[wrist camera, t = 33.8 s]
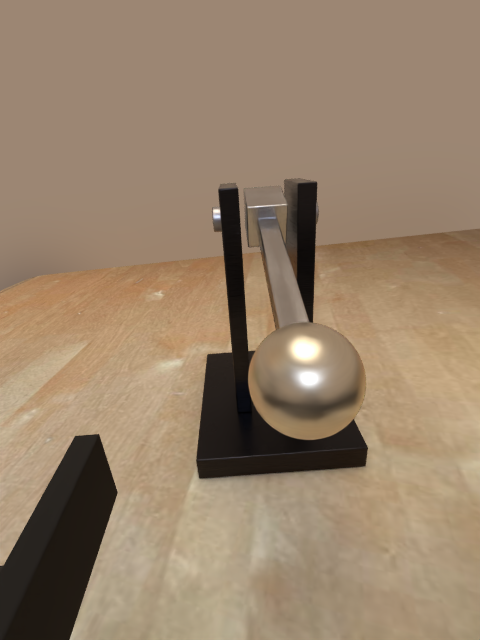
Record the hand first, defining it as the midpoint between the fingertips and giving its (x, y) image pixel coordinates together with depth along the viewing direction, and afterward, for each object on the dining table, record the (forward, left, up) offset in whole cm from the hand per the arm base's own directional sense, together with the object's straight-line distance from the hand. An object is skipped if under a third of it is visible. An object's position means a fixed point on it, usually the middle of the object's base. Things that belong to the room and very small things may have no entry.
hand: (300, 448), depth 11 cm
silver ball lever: (+6, +3, +2) cm, 7 cm away
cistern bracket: (+11, +5, -8) cm, 14 cm away
